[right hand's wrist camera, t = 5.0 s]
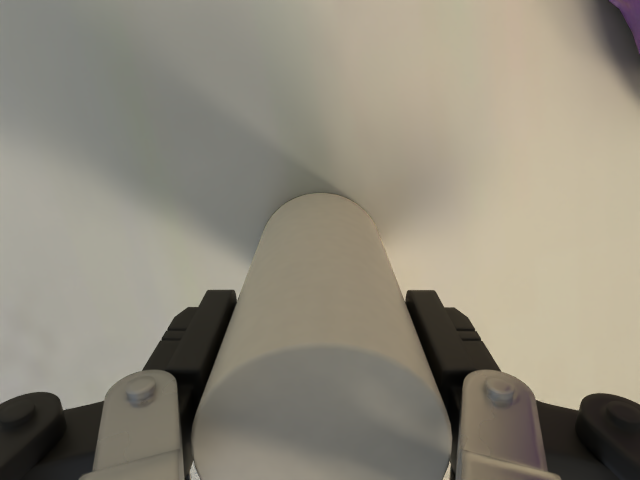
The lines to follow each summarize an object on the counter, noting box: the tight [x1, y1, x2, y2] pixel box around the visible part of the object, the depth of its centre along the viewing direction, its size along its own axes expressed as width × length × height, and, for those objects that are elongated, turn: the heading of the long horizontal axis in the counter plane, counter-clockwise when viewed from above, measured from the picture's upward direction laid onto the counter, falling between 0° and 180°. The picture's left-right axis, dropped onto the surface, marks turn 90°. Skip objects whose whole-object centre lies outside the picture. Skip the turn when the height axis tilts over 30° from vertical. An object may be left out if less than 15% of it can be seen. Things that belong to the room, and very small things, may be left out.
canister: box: [191, 193, 452, 480], centre depth 12 cm, size 5×5×10 cm
